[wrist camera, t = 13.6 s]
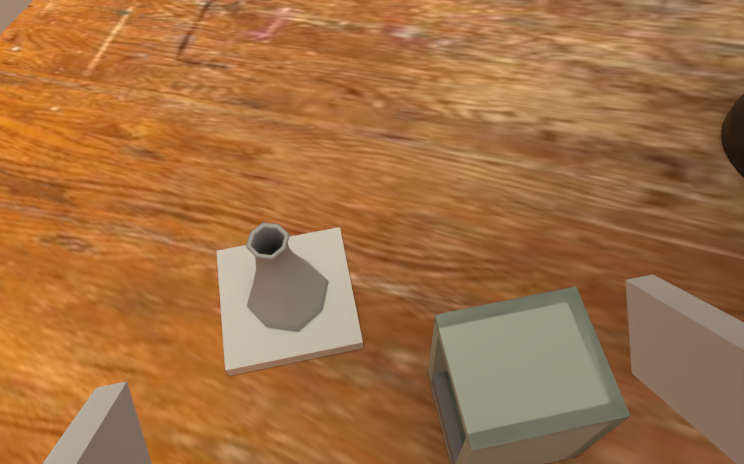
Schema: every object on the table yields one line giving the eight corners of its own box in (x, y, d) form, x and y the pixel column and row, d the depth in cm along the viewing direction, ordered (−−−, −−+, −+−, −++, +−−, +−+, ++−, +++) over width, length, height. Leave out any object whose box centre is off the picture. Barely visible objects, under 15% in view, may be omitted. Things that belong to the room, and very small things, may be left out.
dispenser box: (539, 350, 52) (576, 286, 41) (577, 456, 48) (630, 416, 37) (428, 374, 52) (435, 314, 41) (455, 483, 47) (472, 450, 36)
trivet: (341, 235, 59) (339, 227, 58) (363, 348, 53) (362, 342, 52) (220, 258, 59) (216, 250, 57) (229, 375, 52) (225, 370, 51)
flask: (233, 311, 54) (201, 259, 45) (276, 248, 57) (253, 188, 49) (302, 345, 52) (282, 297, 43) (342, 278, 55) (331, 221, 47)
